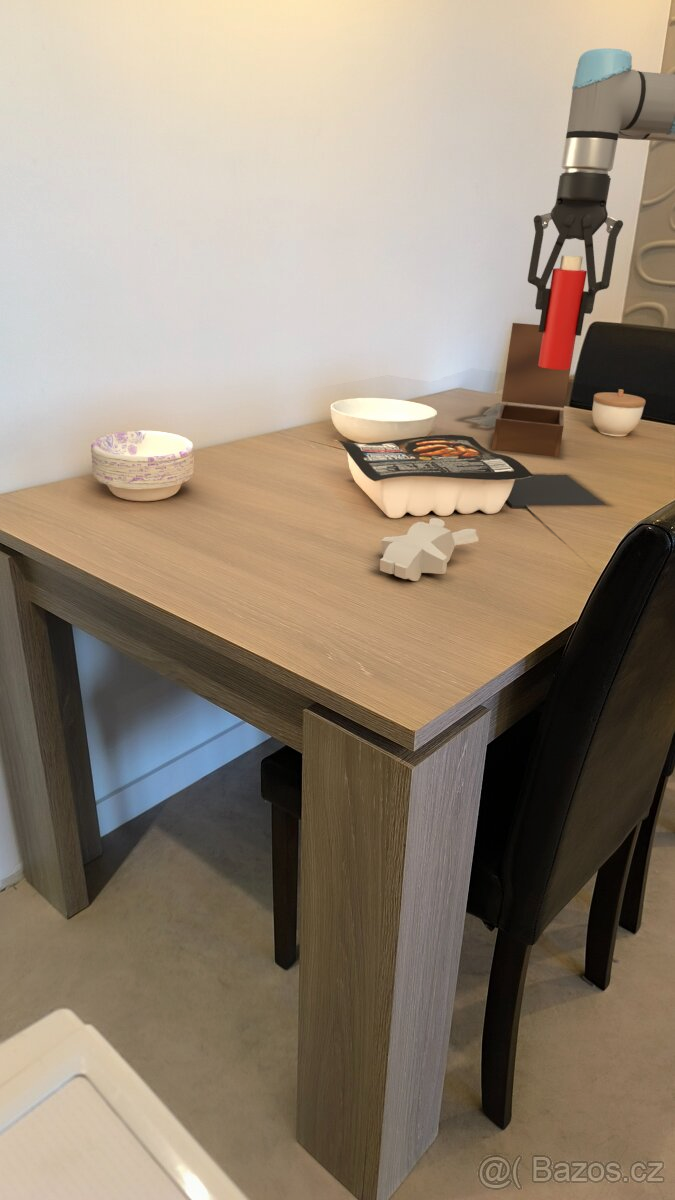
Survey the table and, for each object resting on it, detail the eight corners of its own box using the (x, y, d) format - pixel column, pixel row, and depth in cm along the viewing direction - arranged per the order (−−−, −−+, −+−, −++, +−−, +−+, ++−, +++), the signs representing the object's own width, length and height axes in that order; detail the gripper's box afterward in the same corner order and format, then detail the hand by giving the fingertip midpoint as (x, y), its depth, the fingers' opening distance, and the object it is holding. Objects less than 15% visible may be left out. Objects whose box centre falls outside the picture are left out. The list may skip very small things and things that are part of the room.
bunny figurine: (361, 542, 103) (427, 501, 113) (362, 577, 106) (426, 535, 116) (425, 563, 98) (488, 519, 108) (424, 600, 101) (485, 553, 111)
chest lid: (577, 328, 163) (577, 328, 164) (512, 322, 165) (512, 323, 166) (564, 407, 167) (564, 407, 168) (501, 401, 169) (501, 401, 170)
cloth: (509, 436, 173) (510, 426, 172) (449, 425, 179) (450, 415, 178) (550, 416, 193) (551, 406, 192) (495, 406, 199) (496, 397, 198)
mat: (566, 478, 148) (566, 475, 147) (605, 508, 133) (606, 504, 133) (480, 478, 145) (480, 474, 145) (511, 508, 131) (512, 504, 130)
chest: (557, 461, 158) (563, 425, 155) (491, 453, 160) (496, 418, 157) (558, 442, 170) (563, 409, 168) (496, 436, 173) (501, 403, 170)
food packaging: (472, 433, 143) (534, 471, 123) (467, 475, 146) (526, 518, 127) (333, 435, 136) (375, 476, 117) (331, 479, 140) (371, 526, 120)
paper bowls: (174, 513, 121) (172, 460, 117) (77, 502, 123) (72, 450, 119) (208, 483, 134) (207, 435, 131) (119, 473, 136) (116, 426, 133)
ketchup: (562, 364, 139) (581, 255, 132) (575, 370, 135) (594, 258, 128) (533, 363, 139) (550, 254, 131) (544, 369, 134) (562, 256, 127)
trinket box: (632, 442, 174) (641, 397, 170) (582, 433, 179) (590, 389, 175) (642, 432, 183) (651, 389, 179) (594, 424, 187) (602, 382, 183)
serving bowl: (449, 440, 168) (453, 406, 165) (408, 463, 151) (412, 426, 148) (357, 424, 176) (359, 391, 173) (309, 444, 159) (310, 409, 156)
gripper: (647, 176, 126) (616, 335, 136) (525, 170, 130) (504, 325, 140) (651, 174, 119) (618, 341, 129) (523, 168, 123) (501, 330, 133)
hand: (559, 332), depth 134 cm, fingers closed on ketchup, 5 cm apart
